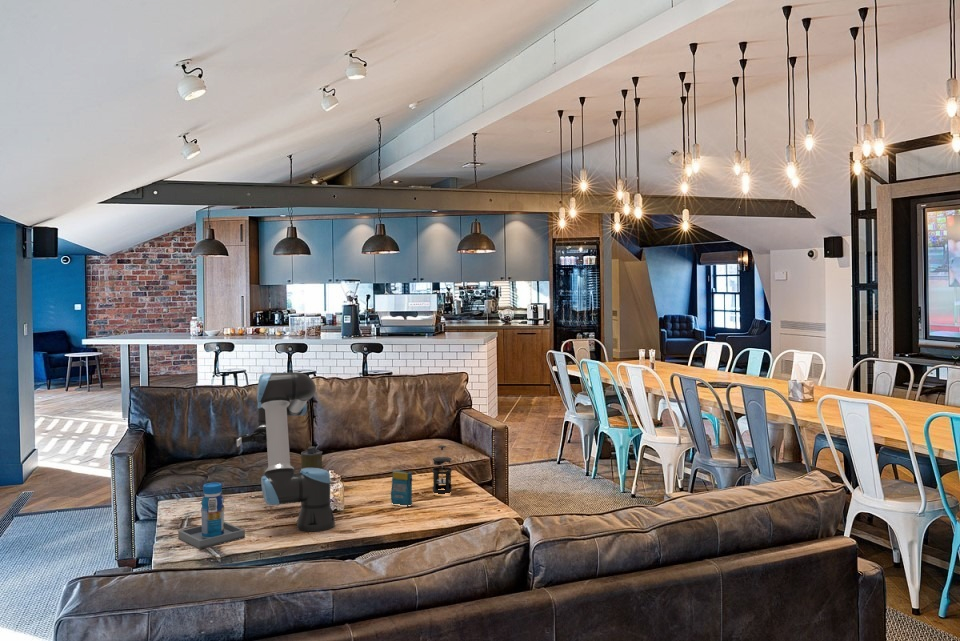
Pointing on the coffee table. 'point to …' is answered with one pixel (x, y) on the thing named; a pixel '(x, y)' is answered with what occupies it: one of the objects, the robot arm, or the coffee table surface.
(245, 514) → the coffee table surface
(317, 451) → the canister
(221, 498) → the beverage bottle
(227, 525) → the tray
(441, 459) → the french press
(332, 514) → the robot arm
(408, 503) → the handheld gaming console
